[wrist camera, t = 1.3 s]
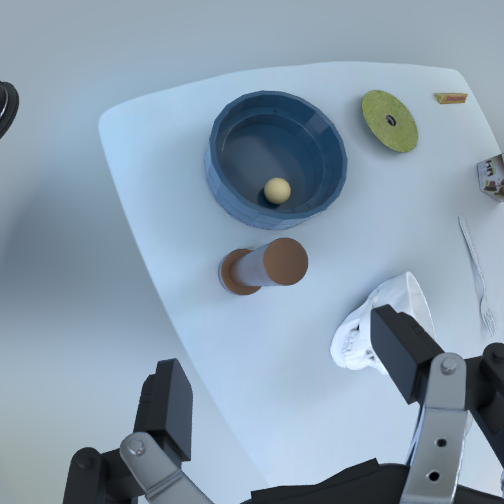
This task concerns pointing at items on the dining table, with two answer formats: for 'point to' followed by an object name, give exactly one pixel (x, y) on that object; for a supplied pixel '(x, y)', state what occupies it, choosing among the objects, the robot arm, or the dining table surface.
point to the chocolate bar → (450, 97)
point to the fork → (484, 302)
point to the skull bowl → (358, 342)
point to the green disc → (389, 121)
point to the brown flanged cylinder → (263, 267)
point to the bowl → (274, 159)
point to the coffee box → (492, 177)
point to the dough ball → (277, 191)
